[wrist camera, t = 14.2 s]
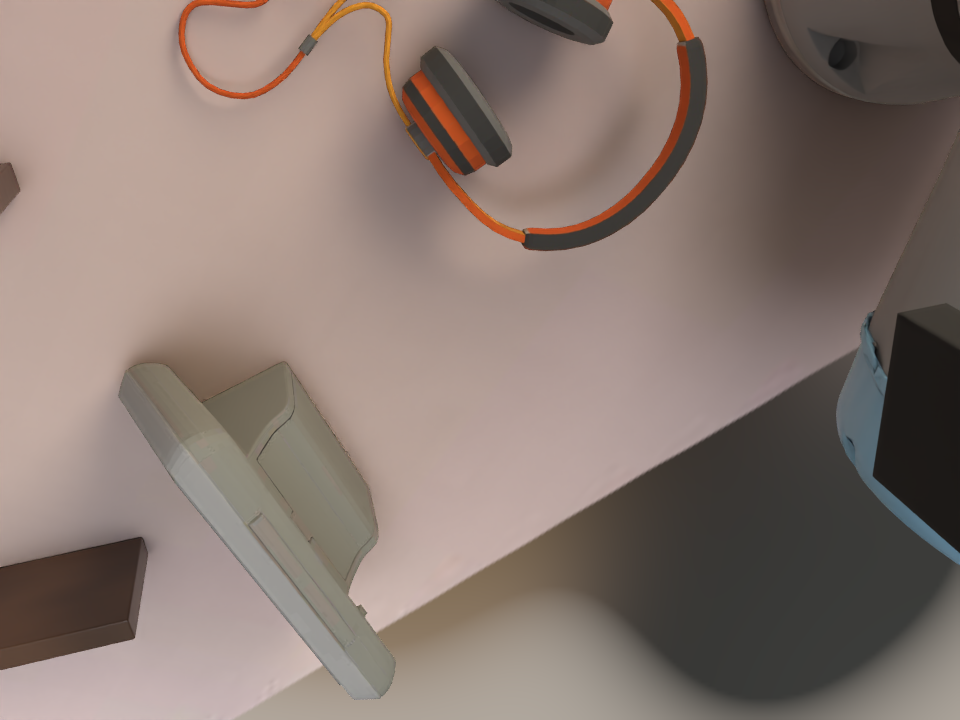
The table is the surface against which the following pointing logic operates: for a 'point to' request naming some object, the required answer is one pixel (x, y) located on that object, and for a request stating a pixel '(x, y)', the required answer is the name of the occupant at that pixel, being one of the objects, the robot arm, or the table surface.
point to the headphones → (477, 131)
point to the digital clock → (274, 503)
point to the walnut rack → (67, 583)
